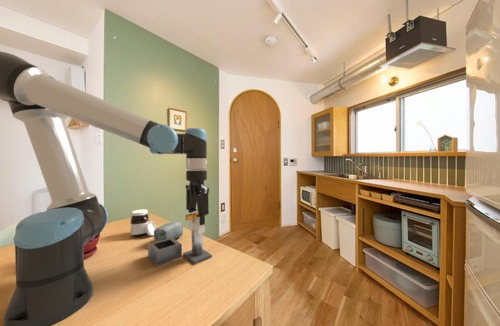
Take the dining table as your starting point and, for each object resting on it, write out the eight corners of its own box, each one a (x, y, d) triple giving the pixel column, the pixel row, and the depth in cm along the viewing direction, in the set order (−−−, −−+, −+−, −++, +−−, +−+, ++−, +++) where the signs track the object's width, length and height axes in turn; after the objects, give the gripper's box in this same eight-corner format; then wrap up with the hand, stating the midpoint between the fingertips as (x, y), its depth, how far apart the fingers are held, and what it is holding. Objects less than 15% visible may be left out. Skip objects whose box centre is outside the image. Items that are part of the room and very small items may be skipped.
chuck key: (209, 251, 73) (208, 211, 72) (190, 259, 68) (189, 216, 67) (203, 248, 76) (203, 209, 75) (185, 255, 70) (184, 214, 70)
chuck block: (156, 266, 65) (156, 252, 65) (148, 257, 71) (148, 244, 71) (181, 257, 71) (181, 244, 71) (172, 249, 78) (171, 237, 77)
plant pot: (73, 267, 64) (73, 232, 64) (44, 263, 67) (44, 230, 67) (109, 250, 77) (109, 220, 77) (83, 247, 80) (83, 219, 80)
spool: (163, 242, 76) (161, 218, 81) (149, 249, 80) (147, 225, 84) (189, 239, 88) (186, 217, 92) (176, 244, 91) (173, 224, 95)
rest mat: (194, 264, 66) (194, 261, 66) (183, 255, 73) (183, 252, 72) (211, 257, 71) (211, 254, 71) (199, 249, 77) (199, 247, 77)
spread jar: (132, 232, 96) (132, 209, 96) (157, 228, 101) (156, 207, 101) (128, 241, 85) (128, 215, 85) (156, 237, 90) (156, 212, 90)
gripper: (218, 170, 67) (219, 234, 68) (194, 168, 80) (194, 223, 81) (199, 171, 62) (200, 241, 63) (176, 169, 75) (177, 227, 75)
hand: (197, 230), depth 72 cm, fingers open, 5 cm apart
